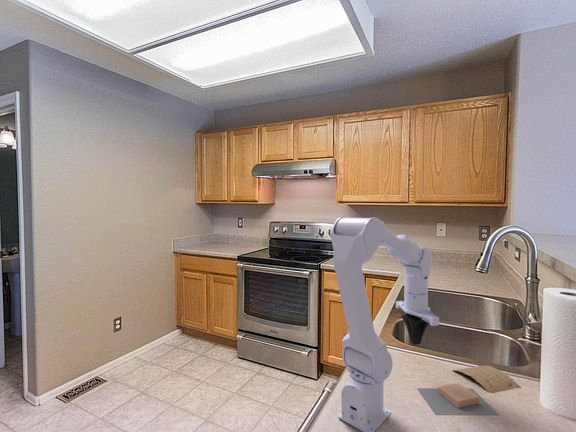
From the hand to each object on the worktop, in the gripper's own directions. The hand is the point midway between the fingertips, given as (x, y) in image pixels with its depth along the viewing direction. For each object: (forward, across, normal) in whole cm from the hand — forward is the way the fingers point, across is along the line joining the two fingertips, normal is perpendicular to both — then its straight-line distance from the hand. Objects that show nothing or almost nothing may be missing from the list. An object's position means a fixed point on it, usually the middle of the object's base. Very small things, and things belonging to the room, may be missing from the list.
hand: (415, 343), depth 81 cm
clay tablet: (+11, -4, -18) cm, 22 cm away
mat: (+10, -10, -3) cm, 15 cm away
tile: (+9, -6, -5) cm, 12 cm away
